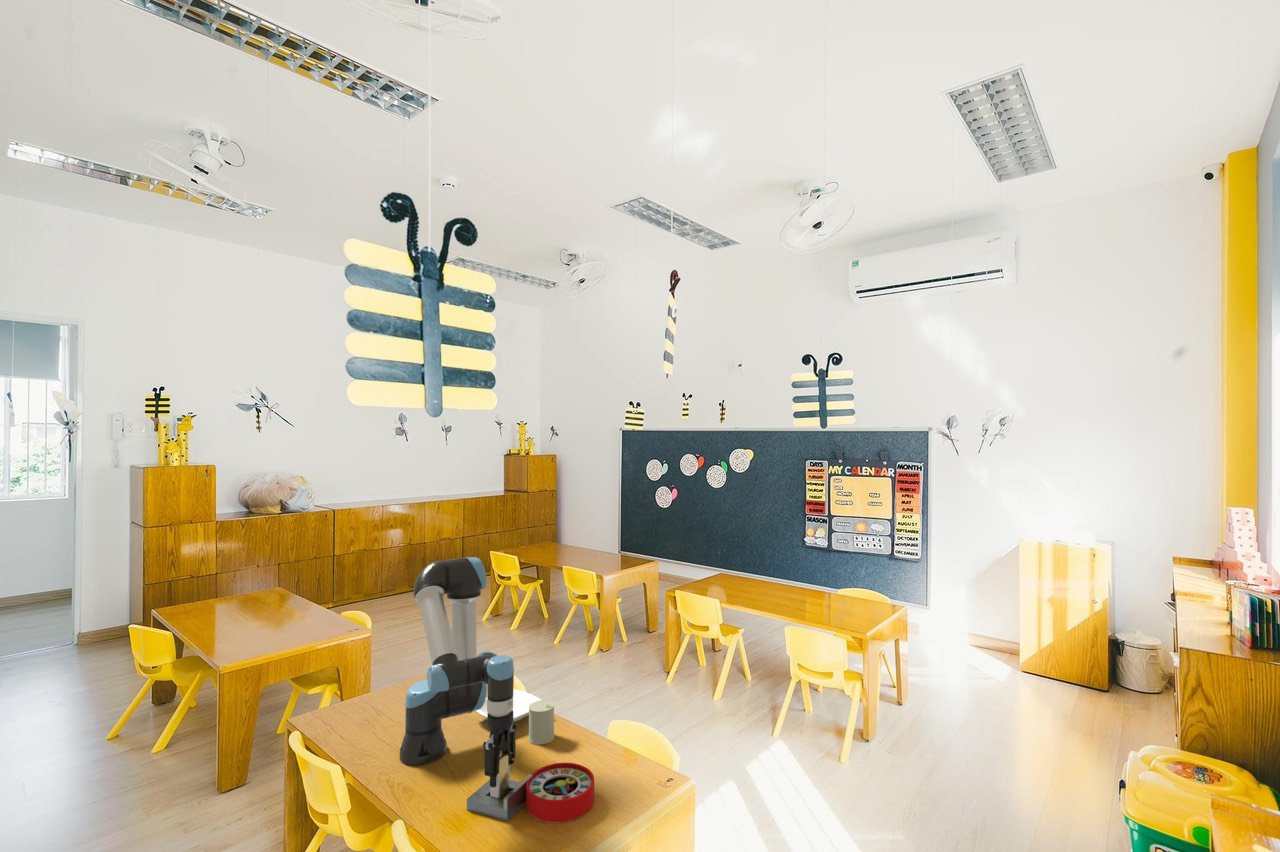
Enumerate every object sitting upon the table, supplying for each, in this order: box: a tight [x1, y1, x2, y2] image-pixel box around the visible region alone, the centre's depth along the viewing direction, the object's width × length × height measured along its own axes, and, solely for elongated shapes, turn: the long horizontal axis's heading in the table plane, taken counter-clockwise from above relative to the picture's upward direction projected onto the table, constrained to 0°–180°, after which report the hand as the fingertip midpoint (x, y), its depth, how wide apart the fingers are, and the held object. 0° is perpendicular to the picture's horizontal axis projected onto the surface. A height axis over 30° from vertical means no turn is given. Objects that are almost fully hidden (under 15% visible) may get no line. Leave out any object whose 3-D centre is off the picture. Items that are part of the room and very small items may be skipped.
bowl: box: [475, 688, 542, 724], centre depth 225 cm, size 22×23×6 cm
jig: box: [466, 774, 533, 822], centre depth 172 cm, size 14×13×6 cm
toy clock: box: [525, 762, 595, 824], centre depth 172 cm, size 20×6×20 cm
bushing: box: [493, 751, 508, 800], centre depth 172 cm, size 4×4×12 cm
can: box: [528, 699, 555, 746], centre depth 210 cm, size 9×9×12 cm
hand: (500, 791), depth 172 cm, fingers closed on bushing, 4 cm apart
